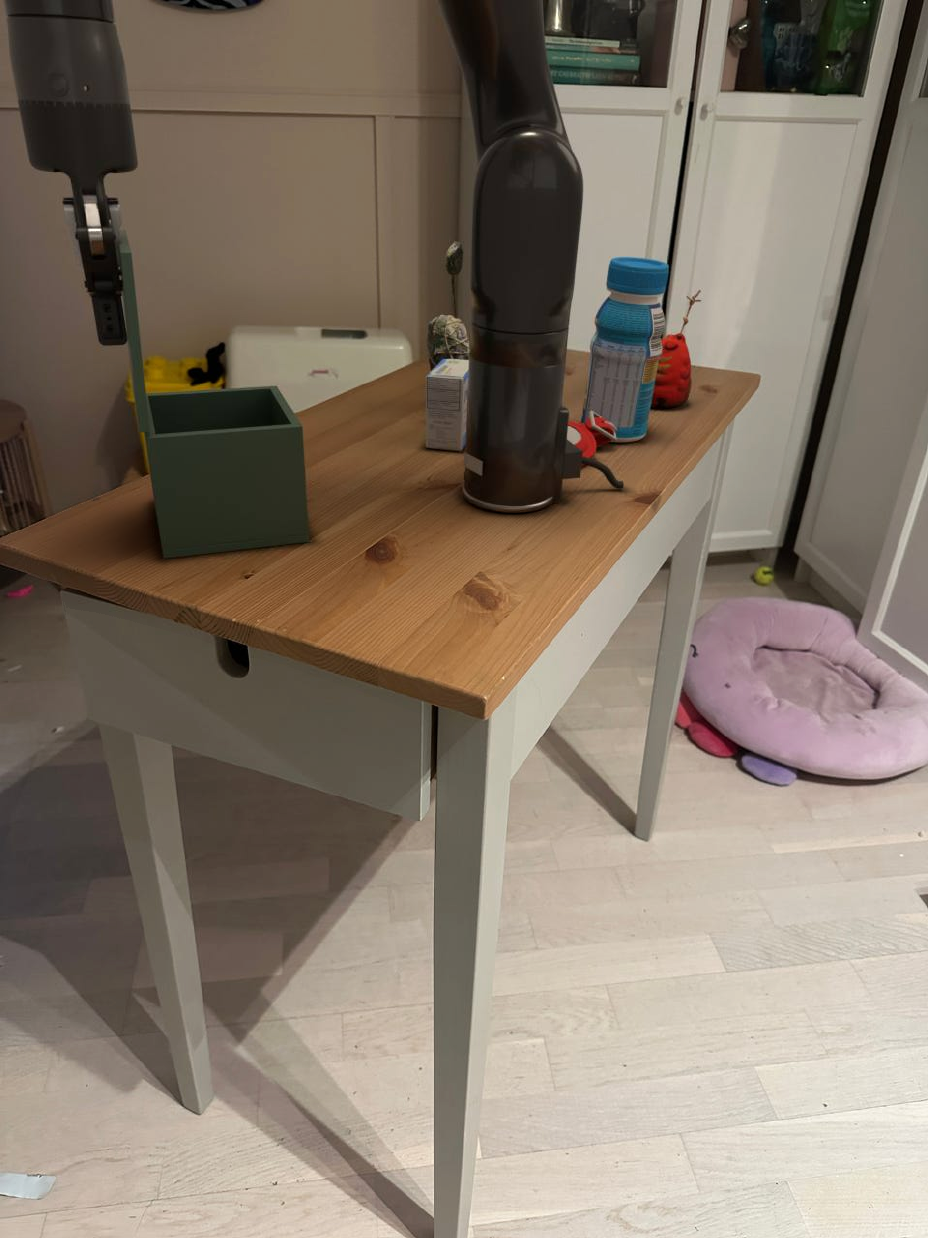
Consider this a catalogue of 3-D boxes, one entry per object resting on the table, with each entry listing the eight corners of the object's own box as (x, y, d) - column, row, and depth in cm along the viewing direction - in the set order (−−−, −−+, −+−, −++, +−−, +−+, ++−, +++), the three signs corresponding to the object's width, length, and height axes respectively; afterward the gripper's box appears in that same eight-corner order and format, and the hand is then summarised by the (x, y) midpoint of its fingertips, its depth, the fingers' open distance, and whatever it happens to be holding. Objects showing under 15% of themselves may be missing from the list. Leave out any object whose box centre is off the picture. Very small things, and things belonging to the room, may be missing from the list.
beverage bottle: (591, 445, 105) (618, 266, 95) (569, 421, 112) (591, 253, 102) (657, 444, 107) (690, 269, 97) (631, 421, 114) (659, 256, 104)
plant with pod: (405, 411, 115) (406, 245, 104) (454, 392, 123) (459, 236, 113) (457, 424, 111) (463, 253, 101) (504, 403, 119) (514, 243, 109)
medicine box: (461, 452, 102) (464, 377, 98) (424, 448, 103) (425, 373, 98) (474, 431, 109) (478, 360, 104) (439, 428, 109) (441, 356, 105)
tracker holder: (581, 466, 96) (503, 428, 99) (572, 497, 99) (497, 459, 102) (629, 415, 103) (555, 381, 106) (619, 446, 107) (548, 411, 109)
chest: (284, 490, 90) (276, 385, 85) (309, 542, 80) (302, 425, 75) (154, 503, 86) (138, 393, 81) (163, 559, 76) (145, 437, 71)
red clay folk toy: (634, 393, 126) (649, 282, 118) (684, 396, 125) (703, 285, 118) (638, 409, 119) (654, 292, 112) (691, 412, 119) (711, 295, 111)
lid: (125, 229, 74) (115, 228, 74) (131, 252, 64) (119, 251, 64) (141, 388, 81) (132, 388, 80) (150, 432, 71) (139, 432, 70)
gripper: (133, 99, 59) (167, 360, 68) (126, 97, 70) (156, 324, 79) (10, 94, 57) (62, 366, 66) (22, 93, 68) (65, 327, 76)
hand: (113, 342), depth 72 cm, fingers closed
